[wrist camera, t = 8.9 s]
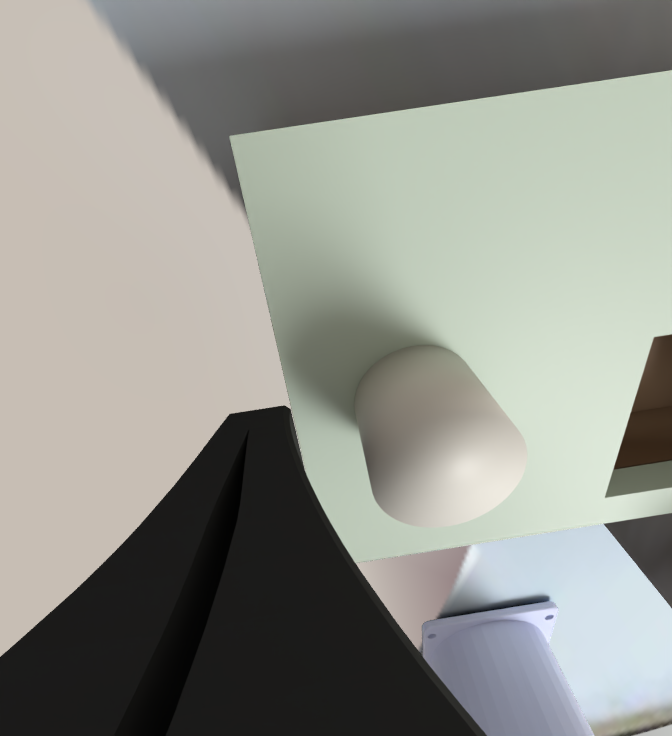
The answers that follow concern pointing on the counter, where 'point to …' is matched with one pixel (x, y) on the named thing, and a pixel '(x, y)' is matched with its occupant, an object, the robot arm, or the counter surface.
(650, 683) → the counter surface
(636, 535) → the block
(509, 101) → the lid
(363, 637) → the robot arm
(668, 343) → the brown box
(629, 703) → the counter surface
